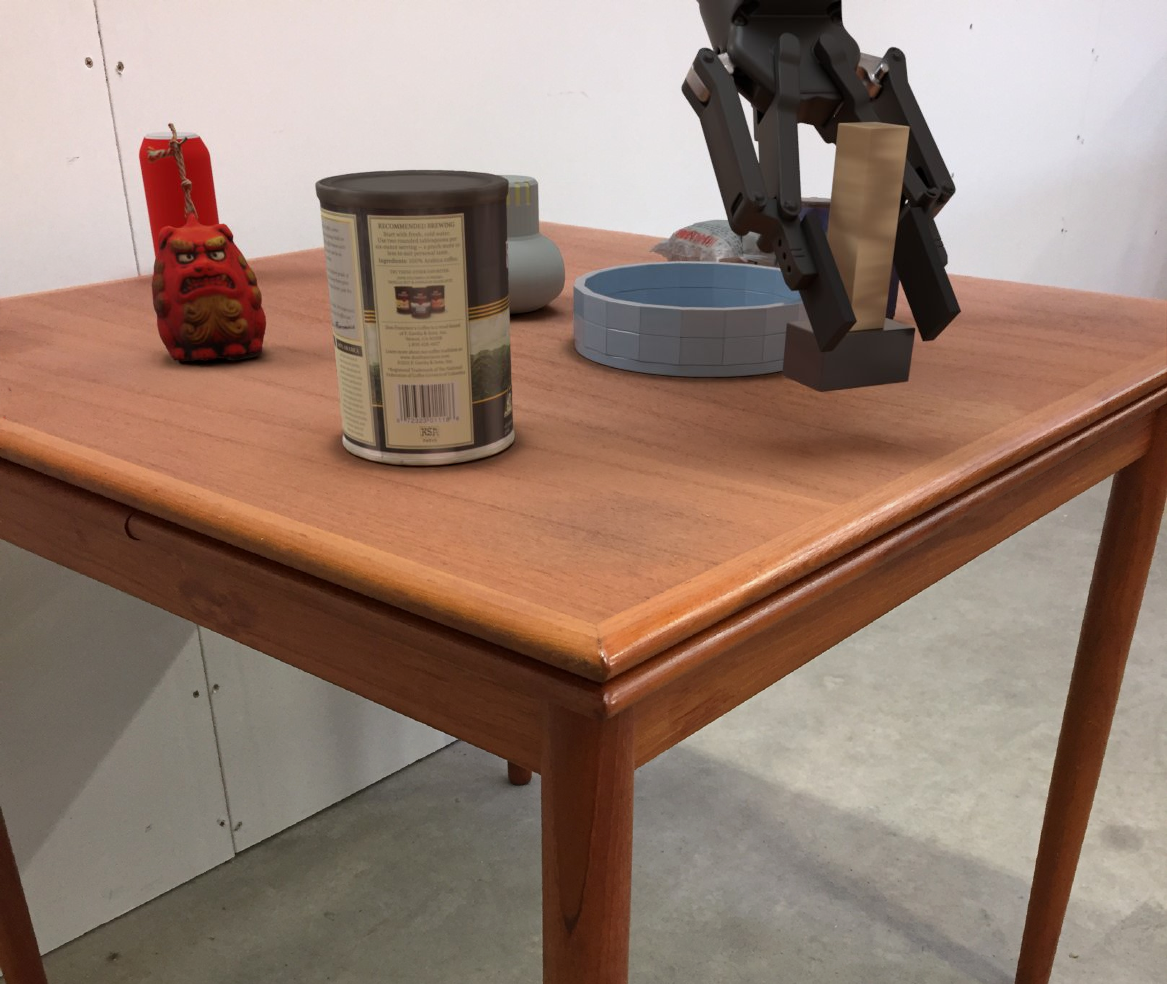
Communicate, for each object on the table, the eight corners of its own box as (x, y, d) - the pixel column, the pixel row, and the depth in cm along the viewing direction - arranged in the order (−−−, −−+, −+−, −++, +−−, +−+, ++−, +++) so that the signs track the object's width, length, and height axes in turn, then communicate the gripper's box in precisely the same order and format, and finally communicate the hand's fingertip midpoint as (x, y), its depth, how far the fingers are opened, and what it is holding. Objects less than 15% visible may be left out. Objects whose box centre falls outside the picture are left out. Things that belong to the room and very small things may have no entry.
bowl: (842, 331, 100) (849, 270, 98) (789, 387, 85) (795, 318, 83) (622, 312, 106) (623, 255, 103) (536, 362, 91) (535, 297, 89)
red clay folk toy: (170, 371, 88) (131, 131, 81) (154, 350, 94) (115, 123, 86) (278, 360, 91) (250, 127, 83) (256, 340, 97) (228, 120, 89)
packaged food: (716, 292, 113) (720, 233, 110) (647, 271, 122) (649, 215, 119) (794, 285, 116) (800, 227, 114) (722, 265, 125) (725, 211, 123)
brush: (867, 365, 75) (897, 120, 68) (908, 382, 72) (944, 126, 65) (781, 375, 73) (803, 123, 66) (819, 393, 70) (847, 129, 63)
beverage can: (203, 268, 122) (183, 129, 116) (239, 277, 119) (220, 134, 112) (146, 276, 118) (122, 133, 112) (181, 285, 115) (158, 138, 108)
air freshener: (572, 318, 104) (572, 184, 99) (475, 325, 101) (470, 188, 96) (531, 293, 112) (529, 169, 107) (441, 299, 110) (435, 173, 105)
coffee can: (463, 407, 81) (452, 164, 74) (547, 448, 74) (544, 183, 66) (312, 431, 76) (285, 174, 69) (386, 478, 69) (364, 196, 61)
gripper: (865, 27, 79) (990, 355, 75) (587, 27, 72) (709, 387, 68) (930, -79, 72) (1073, 276, 68) (630, -90, 65) (768, 303, 61)
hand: (890, 331), depth 68 cm, fingers closed on brush, 6 cm apart
